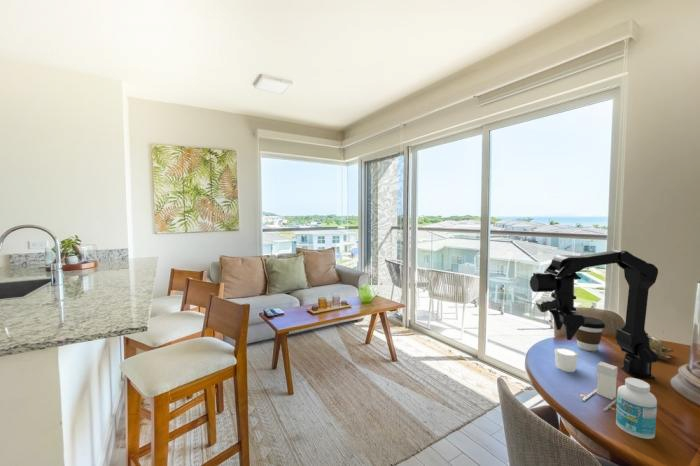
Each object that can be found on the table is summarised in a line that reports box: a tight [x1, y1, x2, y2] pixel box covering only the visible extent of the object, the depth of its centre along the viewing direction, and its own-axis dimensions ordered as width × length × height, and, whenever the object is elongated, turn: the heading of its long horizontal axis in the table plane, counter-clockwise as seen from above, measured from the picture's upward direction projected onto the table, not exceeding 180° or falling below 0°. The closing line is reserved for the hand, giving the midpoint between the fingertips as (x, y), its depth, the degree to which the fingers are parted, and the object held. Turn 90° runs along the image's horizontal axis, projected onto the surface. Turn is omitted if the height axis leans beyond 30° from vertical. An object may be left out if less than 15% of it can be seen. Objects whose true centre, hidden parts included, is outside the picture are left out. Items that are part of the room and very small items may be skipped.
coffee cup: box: [574, 315, 606, 352], centre depth 126 cm, size 11×11×12 cm
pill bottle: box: [615, 377, 658, 440], centre depth 78 cm, size 8×7×14 cm
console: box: [579, 388, 617, 412], centre depth 91 cm, size 14×9×1 cm, turn 121°
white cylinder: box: [554, 347, 579, 373], centre depth 109 cm, size 7×7×7 cm
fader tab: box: [596, 361, 619, 401], centre depth 92 cm, size 3×4×10 cm
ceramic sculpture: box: [646, 332, 674, 360], centre depth 121 cm, size 11×9×15 cm
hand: (563, 334), depth 107 cm, fingers open, 9 cm apart
